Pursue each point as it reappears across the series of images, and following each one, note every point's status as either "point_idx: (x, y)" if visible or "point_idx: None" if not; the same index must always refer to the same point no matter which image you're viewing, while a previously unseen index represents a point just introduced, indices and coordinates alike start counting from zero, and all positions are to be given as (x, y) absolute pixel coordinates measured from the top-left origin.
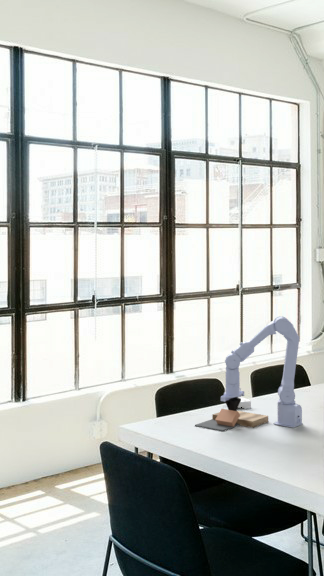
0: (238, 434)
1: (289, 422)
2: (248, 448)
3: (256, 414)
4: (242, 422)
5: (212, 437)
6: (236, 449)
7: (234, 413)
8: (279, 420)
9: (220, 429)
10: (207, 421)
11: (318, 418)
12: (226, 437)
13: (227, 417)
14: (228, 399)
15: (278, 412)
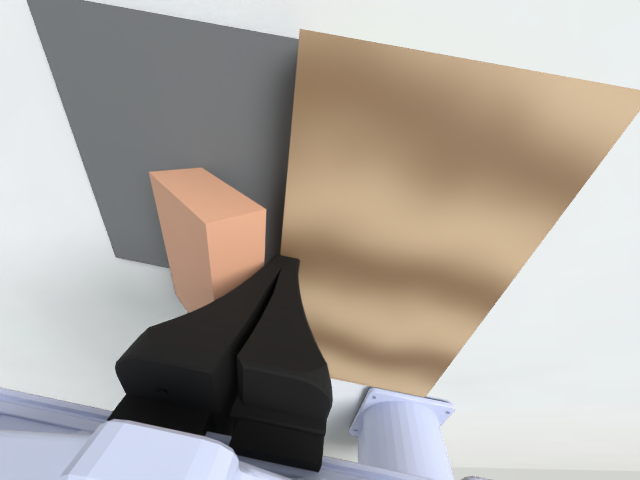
0: (144, 319)
1: (363, 440)
2: (57, 372)
3: (441, 354)
4: None
5: (10, 248)
6: (16, 352)
7: None
8: (370, 423)
9: (115, 240)
10: (201, 45)
11: (529, 467)
12: (70, 295)
13: (182, 274)
14: (94, 424)
15: (379, 466)
